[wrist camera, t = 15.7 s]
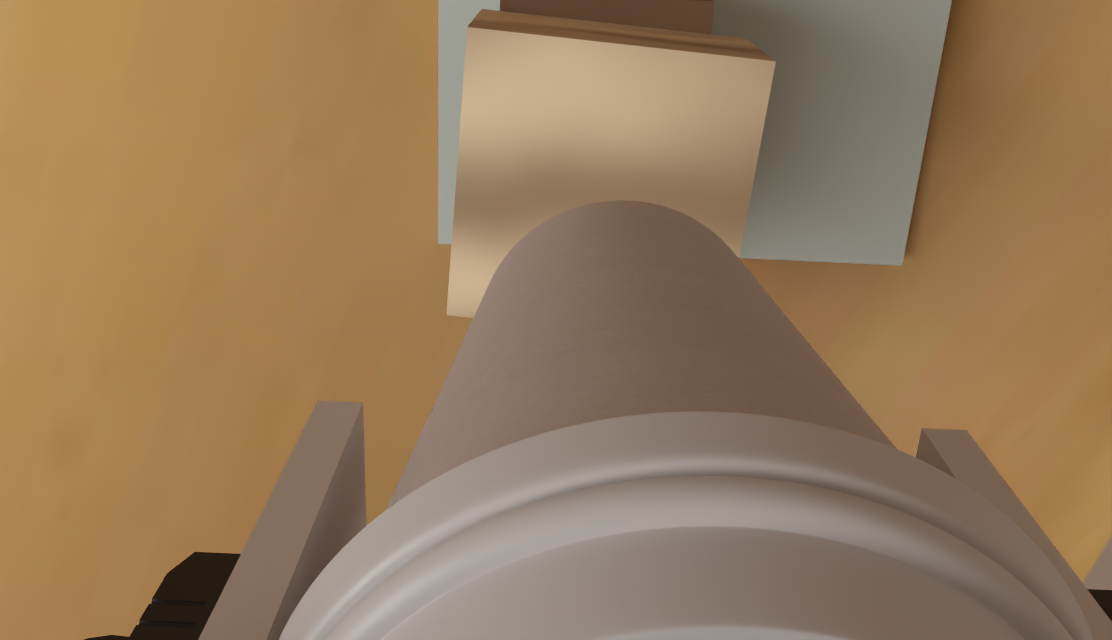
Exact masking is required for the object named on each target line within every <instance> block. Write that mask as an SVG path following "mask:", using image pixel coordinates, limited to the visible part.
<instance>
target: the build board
mask: <svg viewBox="0 0 1112 640" xmlns="http://www.w3.org/2000/svg"><path fill="white" fill-rule="evenodd" d="M713 1H715V4H714V13H713V23H712V33H711V35H720V36H729V37H738V38H746V39H747V40H748V41H750V42H751V43H752V44H754V45H755V46H756V47H758V48H759V49H760V50H761V51H763V52H764V53H765V54H767V55H768V56H769V57H771V58H772V59H773V60H775V61H776V64H775V69H774V75H773V80H772V85H771V91H770V96H769V101H768V107H767V112H766V118H765V123H764V128H763V134H762V139H761V144H760V150H759V155H758V160H757V166H756V171H755V177H754V182H753V187H752V193H751V198H750V203H749V209H748V214H747V219H746V225H745V230H744V236H743V241H742V246H741V252H740V257H739V258H751V259H773V260H794V261H815V262H837V263H858V264H879V265H900V266H902V264H903V258H904V253H905V248H906V242H907V237H908V232H909V226H910V221H911V216H912V210H913V205H914V200H915V194H916V189H917V184H918V178H919V173H920V168H921V162H922V157H923V152H924V147H925V141H926V136H927V131H928V125H929V120H930V115H931V109H932V104H933V99H934V93H935V88H936V83H937V77H938V72H939V67H940V61H941V56H942V51H943V45H944V40H945V35H946V29H947V24H948V19H949V13H950V8H951V3H952V0H713ZM481 9H488V10H497V11H500V0H438V244H452V232H453V218H454V204H455V190H456V176H457V162H458V148H459V133H460V119H461V105H462V91H463V77H464V63H465V49H466V35H467V26H468V25H469V24H470V23H471V21H472V20H473V19H474V18H475V16H476V15H477V14H478V13H479V11H480V10H481Z"/></svg>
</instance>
